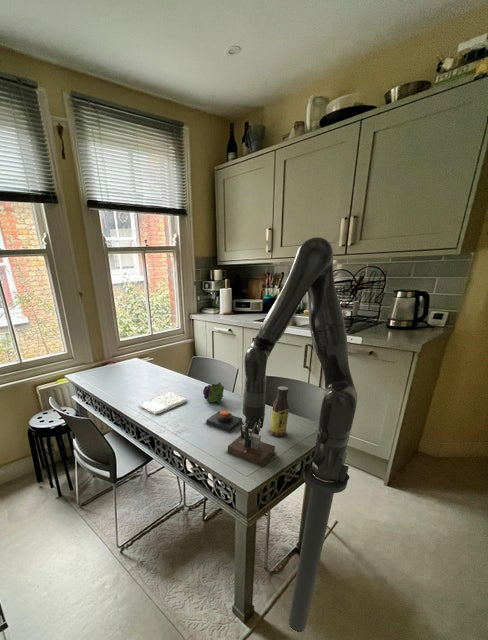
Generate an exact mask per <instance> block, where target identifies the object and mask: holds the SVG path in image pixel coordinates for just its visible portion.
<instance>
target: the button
mask: <svg viewBox="0 0 488 640" xmlns="http://www.w3.org/2000/svg"><path fill="white" fill-rule="evenodd" d="M229 413H230V412H229V411H228V410H221V411H220V416H221V417H223V418H227V417H228V416H229Z"/></svg>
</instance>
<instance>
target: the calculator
mask: <svg viewBox="0 0 488 640" xmlns="http://www.w3.org/2000/svg"><path fill="white" fill-rule="evenodd" d="M186 402H187V398H185V397H184V396H181V395H178V394H177V393H175V392H172V391H170V392H169V391H168V392H167V393H163V394H160V395H158V396H156V397H153V398H150V399H148V400H146V401H142V402H141V403H140V404H139V405H140V407H141V408H143V409H144V410H146V411H148V412H150V413H152V414H154V415H158V414H161V413H163V412H166V411H169V410H170V409H171V410H172V409H173V408H176V407H178V406H180V405H183V404H185V403H186Z"/></svg>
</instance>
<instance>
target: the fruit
mask: <svg viewBox="0 0 488 640" xmlns="http://www.w3.org/2000/svg"><path fill="white" fill-rule="evenodd" d="M224 390H225V385H224V386H223V385H222V383H221V382H218V383H216V384H208V385H205V386H204V388H203V390H202V394H203V398H204V399H205V400H206V401H207V403H212V402H213V403H215V402H217V403H218V404H220V403H221V402H222V400H223V397H224Z"/></svg>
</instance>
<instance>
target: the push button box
mask: <svg viewBox="0 0 488 640" xmlns="http://www.w3.org/2000/svg"><path fill="white" fill-rule="evenodd" d="M220 412H221V411H220V410H219V411H217V412H215V413H214V414H213V415H211V416H209V417H208V418H207V419H206V421H205V422H206V425H208V426H211V427H214V428H216V429H219V430H222V431H224V432H228V433H231V432H232V431H234V430H235V429H237V428H238V427H240V426H241V425H242V424H243V418H242V417H239V416H236V415H233V414H232V412H231V413H230V412H229V416H228V417H227V418H223V417H221V416H220Z"/></svg>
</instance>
